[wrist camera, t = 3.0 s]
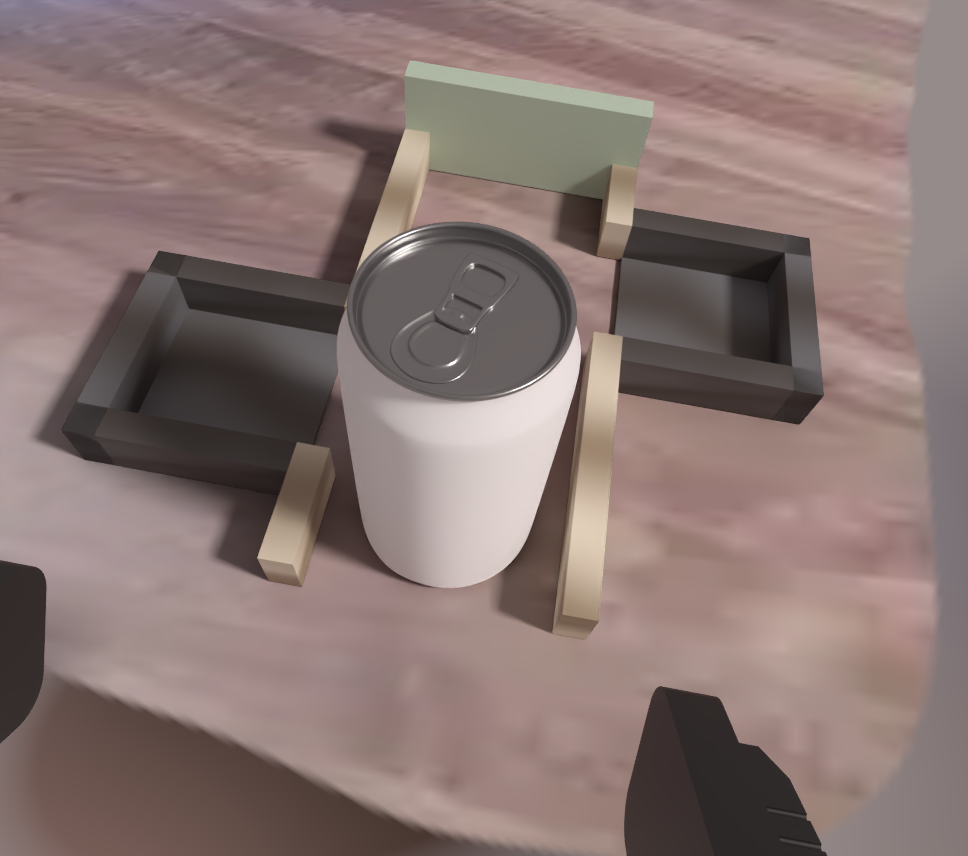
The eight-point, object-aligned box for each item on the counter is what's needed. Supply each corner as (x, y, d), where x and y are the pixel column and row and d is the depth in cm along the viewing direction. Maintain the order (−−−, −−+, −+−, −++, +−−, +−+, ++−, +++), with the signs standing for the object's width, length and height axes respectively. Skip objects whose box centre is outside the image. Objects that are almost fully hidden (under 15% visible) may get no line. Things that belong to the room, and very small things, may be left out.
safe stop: (626, 203, 38) (652, 117, 34) (406, 165, 38) (404, 75, 34) (627, 187, 39) (653, 101, 34) (411, 150, 39) (410, 60, 35)
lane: (817, 682, 26) (848, 667, 24) (44, 538, 27) (15, 512, 25) (785, 214, 38) (804, 180, 37) (257, 123, 39) (248, 85, 37)
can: (327, 540, 27) (272, 338, 17) (417, 412, 31) (416, 177, 20) (482, 625, 26) (522, 462, 16) (559, 482, 29) (634, 270, 19)
